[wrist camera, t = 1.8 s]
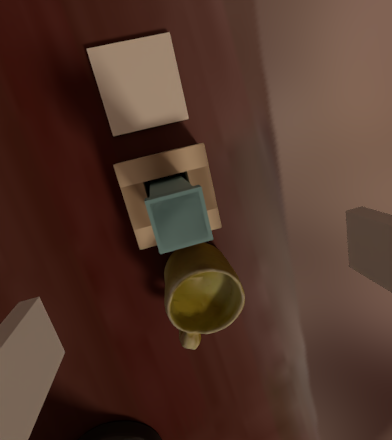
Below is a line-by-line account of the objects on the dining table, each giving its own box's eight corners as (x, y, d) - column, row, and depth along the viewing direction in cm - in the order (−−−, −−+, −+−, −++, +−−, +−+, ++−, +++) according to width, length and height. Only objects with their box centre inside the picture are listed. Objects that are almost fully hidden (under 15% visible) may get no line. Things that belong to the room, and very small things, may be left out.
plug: (156, 213, 34) (160, 254, 21) (146, 180, 33) (144, 201, 20) (189, 204, 35) (213, 239, 21) (181, 171, 33) (201, 186, 20)
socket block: (141, 238, 35) (140, 250, 31) (117, 163, 32) (113, 165, 28) (214, 219, 36) (221, 227, 32) (197, 143, 33) (203, 142, 29)
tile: (113, 136, 31) (113, 136, 31) (87, 50, 29) (86, 48, 28) (188, 119, 32) (188, 118, 31) (169, 34, 29) (169, 32, 29)
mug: (171, 220, 33) (200, 276, 25) (232, 239, 38) (270, 290, 31) (131, 291, 37) (145, 358, 29) (191, 299, 42) (216, 357, 35)
